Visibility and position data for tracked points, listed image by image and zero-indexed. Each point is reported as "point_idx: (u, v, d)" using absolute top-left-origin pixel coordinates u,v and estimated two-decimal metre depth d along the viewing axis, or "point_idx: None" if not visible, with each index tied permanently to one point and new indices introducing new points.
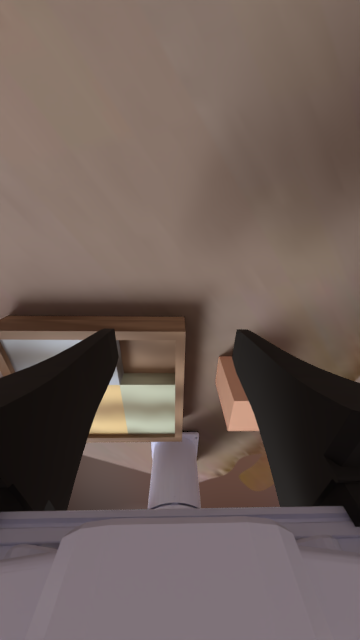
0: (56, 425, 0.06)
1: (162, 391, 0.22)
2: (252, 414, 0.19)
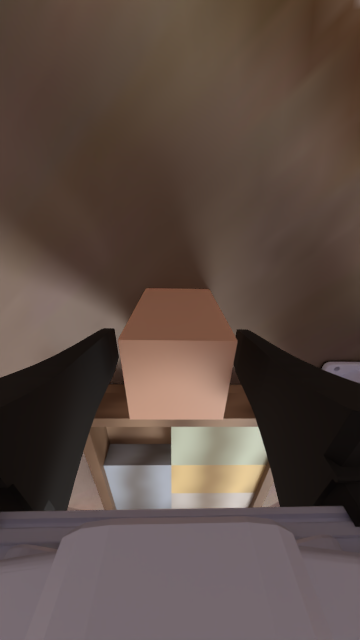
0: (56, 425, 0.06)
1: (184, 433, 0.16)
2: (169, 387, 0.08)
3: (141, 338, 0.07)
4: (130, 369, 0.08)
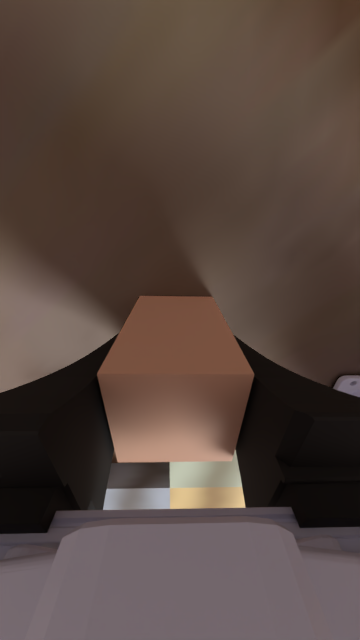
0: (96, 425, 0.06)
1: None
2: (165, 427, 0.06)
3: (127, 371, 0.05)
4: (115, 408, 0.06)
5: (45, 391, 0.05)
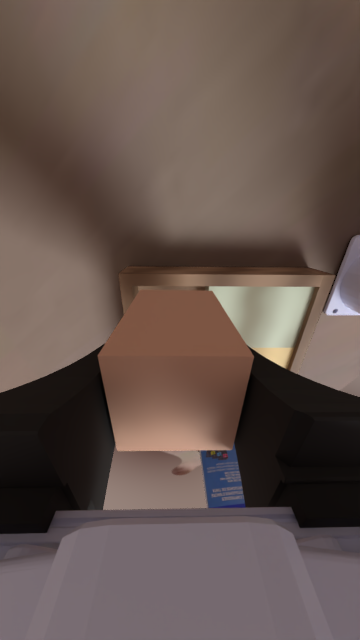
0: (96, 425, 0.06)
1: (220, 301, 0.17)
2: (165, 413, 0.06)
3: (128, 353, 0.05)
4: (115, 392, 0.06)
5: (45, 391, 0.05)
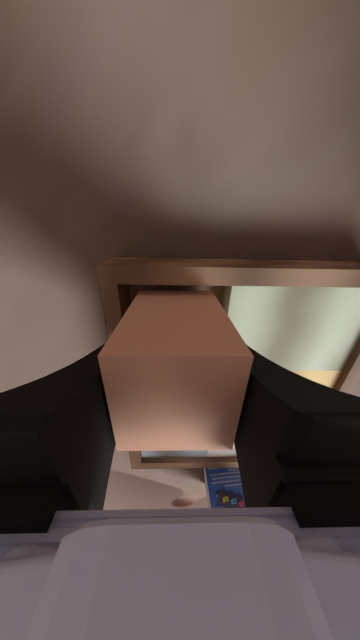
0: (96, 425, 0.06)
1: (247, 308, 0.12)
2: (165, 413, 0.06)
3: (128, 353, 0.05)
4: (115, 393, 0.06)
5: (45, 391, 0.05)
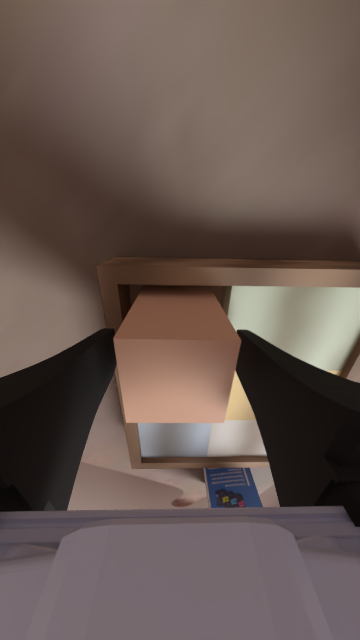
0: (56, 425, 0.06)
1: (247, 308, 0.12)
2: (167, 389, 0.08)
3: (138, 337, 0.07)
4: (126, 370, 0.07)
5: None
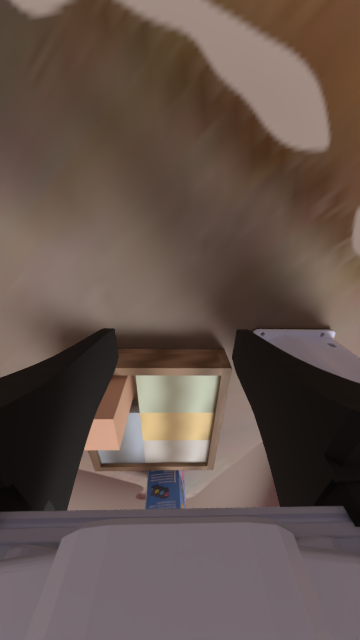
0: (56, 425, 0.06)
1: (146, 382, 0.21)
2: None
3: None
4: None
5: None
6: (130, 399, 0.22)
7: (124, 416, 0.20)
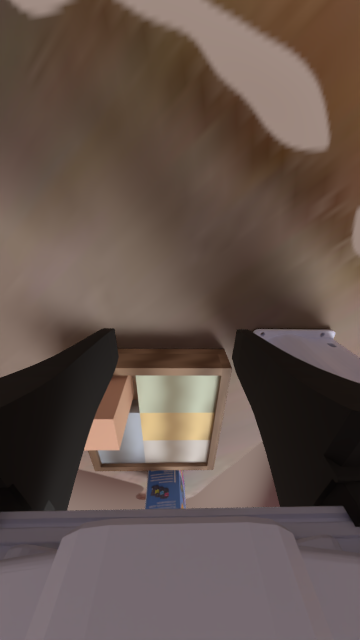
0: (56, 425, 0.06)
1: (146, 382, 0.21)
2: None
3: None
4: None
5: None
6: (130, 399, 0.22)
7: (124, 416, 0.20)
